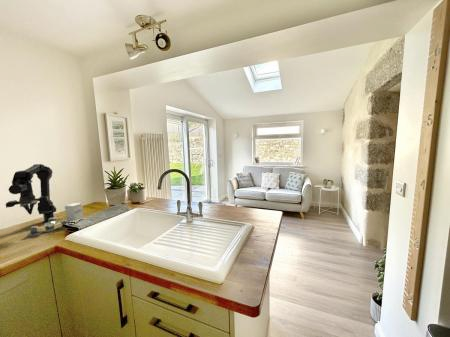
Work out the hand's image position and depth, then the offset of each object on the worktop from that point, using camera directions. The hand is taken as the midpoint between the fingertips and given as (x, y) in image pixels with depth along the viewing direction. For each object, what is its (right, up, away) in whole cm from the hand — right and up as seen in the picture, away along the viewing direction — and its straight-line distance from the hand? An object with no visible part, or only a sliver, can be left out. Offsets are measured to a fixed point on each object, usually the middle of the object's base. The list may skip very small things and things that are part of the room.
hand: (30, 214), depth 126 cm
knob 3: (+17, -9, +4) cm, 19 cm away
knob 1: (+8, -10, -3) cm, 13 cm away
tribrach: (+8, -11, +7) cm, 15 cm away
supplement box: (+16, -9, +18) cm, 25 cm away
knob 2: (+5, -8, +13) cm, 16 cm away
